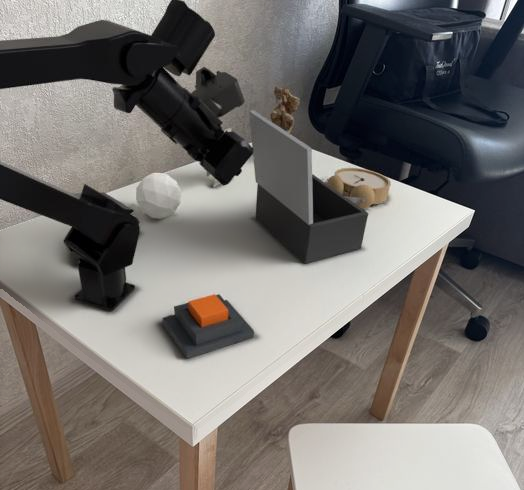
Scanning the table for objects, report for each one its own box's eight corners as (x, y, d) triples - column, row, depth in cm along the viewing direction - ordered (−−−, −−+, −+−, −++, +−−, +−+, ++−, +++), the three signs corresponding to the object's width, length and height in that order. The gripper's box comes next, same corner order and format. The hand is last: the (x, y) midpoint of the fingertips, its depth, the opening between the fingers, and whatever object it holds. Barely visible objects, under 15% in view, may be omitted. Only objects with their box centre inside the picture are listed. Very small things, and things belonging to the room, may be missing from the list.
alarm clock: (400, 179, 114) (370, 191, 103) (393, 203, 117) (362, 217, 106) (351, 163, 119) (316, 173, 108) (345, 186, 122) (311, 198, 110)
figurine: (255, 158, 125) (259, 85, 115) (273, 152, 128) (280, 81, 119) (279, 169, 121) (286, 95, 111) (298, 163, 125) (306, 90, 115)
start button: (201, 328, 75) (201, 317, 74) (188, 311, 77) (188, 301, 76) (228, 320, 77) (228, 309, 75) (214, 304, 79) (214, 293, 78)
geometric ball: (170, 231, 104) (183, 210, 97) (127, 217, 101) (137, 194, 94) (177, 196, 106) (190, 173, 99) (134, 181, 103) (146, 157, 96)
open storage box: (307, 207, 109) (311, 173, 104) (361, 249, 98) (368, 213, 94) (254, 219, 104) (257, 183, 100) (305, 264, 94) (310, 226, 89)
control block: (187, 359, 74) (186, 341, 72) (162, 324, 79) (161, 307, 77) (253, 337, 78) (255, 320, 76) (226, 306, 83) (227, 289, 81)
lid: (253, 109, 90) (248, 111, 90) (311, 148, 80) (307, 149, 80) (259, 180, 99) (255, 182, 99) (313, 223, 89) (308, 225, 89)
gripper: (243, 75, 67) (309, 153, 79) (177, 36, 79) (243, 109, 91) (183, 150, 69) (256, 215, 81) (128, 101, 81) (198, 165, 93)
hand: (238, 172), depth 86 cm, fingers closed
